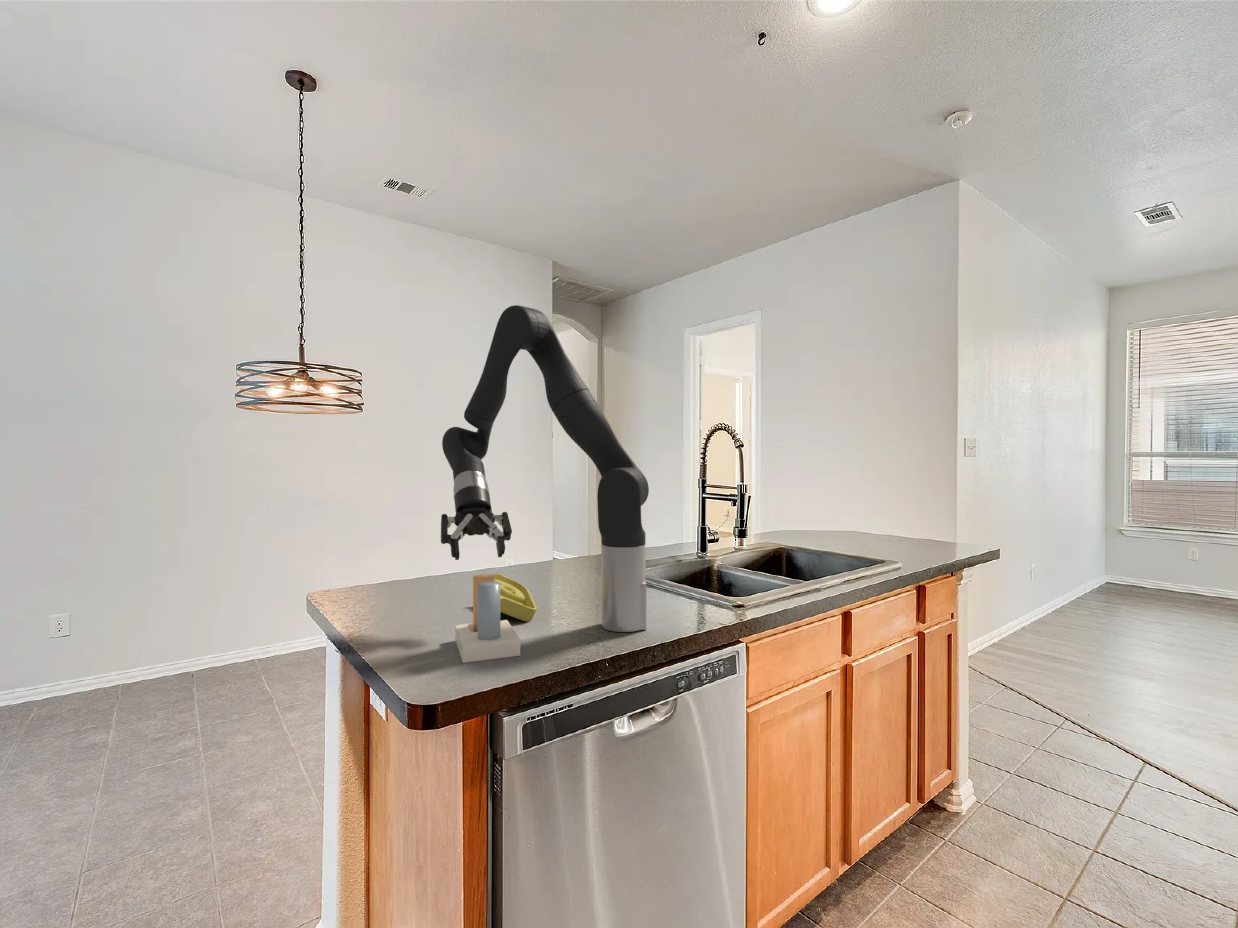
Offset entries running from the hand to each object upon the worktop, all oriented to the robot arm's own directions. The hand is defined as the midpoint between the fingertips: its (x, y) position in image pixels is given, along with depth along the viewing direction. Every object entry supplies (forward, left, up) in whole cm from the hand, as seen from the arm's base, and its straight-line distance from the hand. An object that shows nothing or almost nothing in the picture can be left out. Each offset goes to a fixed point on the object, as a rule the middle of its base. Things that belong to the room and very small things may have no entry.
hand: (479, 556), depth 117 cm
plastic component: (-3, -15, -16) cm, 22 cm away
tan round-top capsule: (-2, +6, -15) cm, 16 cm away
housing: (-3, +9, -16) cm, 18 cm away
